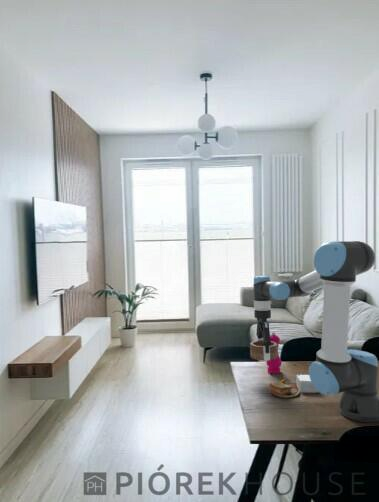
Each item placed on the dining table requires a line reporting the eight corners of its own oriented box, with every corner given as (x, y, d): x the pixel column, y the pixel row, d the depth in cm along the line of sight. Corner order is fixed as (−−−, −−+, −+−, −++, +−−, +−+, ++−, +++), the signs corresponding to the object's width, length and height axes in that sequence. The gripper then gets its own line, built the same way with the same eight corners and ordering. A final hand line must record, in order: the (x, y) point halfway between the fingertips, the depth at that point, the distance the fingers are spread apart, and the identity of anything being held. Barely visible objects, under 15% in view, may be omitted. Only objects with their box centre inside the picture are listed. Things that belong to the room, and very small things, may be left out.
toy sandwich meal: (306, 395, 156) (306, 384, 156) (280, 401, 151) (279, 390, 151) (286, 385, 168) (286, 374, 168) (262, 390, 162) (261, 379, 162)
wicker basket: (280, 359, 166) (279, 346, 166) (253, 360, 165) (253, 347, 165) (273, 352, 178) (273, 340, 178) (248, 353, 177) (248, 340, 177)
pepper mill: (277, 375, 180) (277, 334, 179) (264, 372, 184) (263, 332, 183) (283, 371, 185) (283, 331, 185) (270, 368, 190) (269, 329, 189)
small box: (318, 393, 159) (318, 381, 158) (300, 392, 159) (300, 381, 159) (313, 385, 166) (313, 374, 166) (296, 385, 167) (295, 374, 167)
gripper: (277, 313, 160) (278, 363, 160) (264, 305, 184) (265, 348, 184) (260, 314, 159) (261, 364, 159) (249, 305, 184) (250, 349, 184)
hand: (263, 356), depth 172 cm, fingers closed on wicker basket, 12 cm apart
